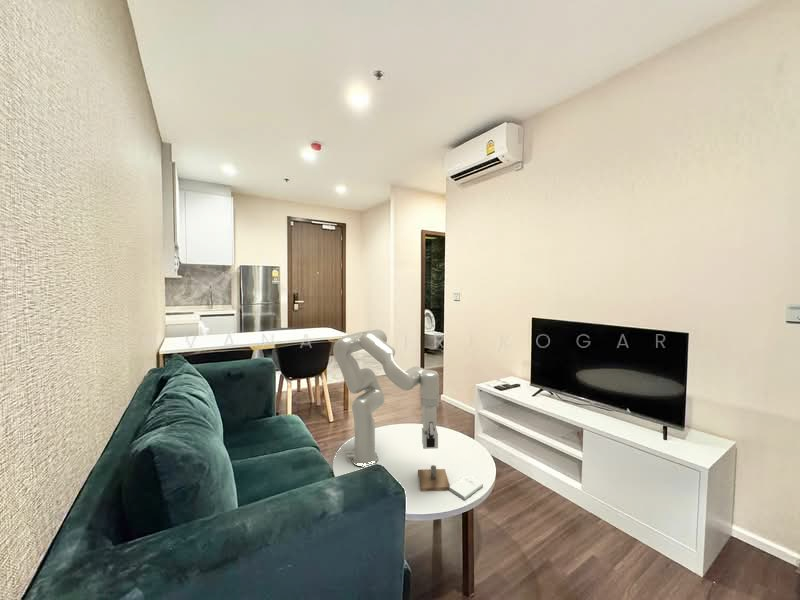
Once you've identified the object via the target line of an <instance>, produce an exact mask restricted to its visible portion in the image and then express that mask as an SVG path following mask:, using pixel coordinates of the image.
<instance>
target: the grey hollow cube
mask: <svg viewBox="0 0 800 600" xmlns="http://www.w3.org/2000/svg"><path fill="white" fill-rule="evenodd" d="M428 430H430V429H428ZM429 434H430V432H429ZM434 437H435V447H427V431H424V429H423V427H421V442H422V443H421V444H422V448H423V449H422V450H424V449H425V450H427V449H439V434H438V430H437V428H436V431H434Z"/></svg>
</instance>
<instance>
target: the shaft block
mask: <svg viewBox="0 0 800 600" xmlns="http://www.w3.org/2000/svg"><path fill="white" fill-rule="evenodd" d="M417 475H418V476H417V477H418V482H419V487H420V488H419V489H420V492H437V491H438V492H439V491H441V492H443V491H449V487H450V486H451V485H450V482H449V478H448V475H447V471H446V469H445V468H437V466H436V465H434V464H433V465H431V466H430V469H417Z"/></svg>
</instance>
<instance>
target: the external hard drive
mask: <svg viewBox="0 0 800 600" xmlns="http://www.w3.org/2000/svg"><path fill="white" fill-rule="evenodd" d="M483 487H484V482H482V481H480V480H478V479H477V478H475V477H473V476H471V475H469V474H466V475H464V476H463V477H461V478H459V479H458V480H457V481H455V482H454V483H452V484H451V485H450V487H449V490H448V491H450V492H451V493H452V494H454V495H456V497H458V498H460V499H461V500H462V501H466V500H467V499H468V498H470V497H471V496H473V494H474V493H476V492H477V491H479V490H480V489H481V488H483Z"/></svg>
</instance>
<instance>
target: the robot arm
mask: <svg viewBox="0 0 800 600" xmlns="http://www.w3.org/2000/svg"><path fill="white" fill-rule="evenodd" d="M386 334H387V333H385V331H383V330H381V329H377V328H376V329H373V330H367V331H359V332H354V333H352V334H348V335H344V336H342V337H340V338H338V339H337V340H336V341H335V343H334V344H333V349H332V352H333V356H334V360H335V361H336V363H337V365H338V366H339V369H340V372H341V374H342V377H343V380H344V381H345V385H346V387H347V389H348V391H349V392H350V394H358V393H361V392H363V391H364V393H362V394H360V395H358V396H356V398H355V399H354V400H353V401H352V404H351V411H352V415H353V423H354V425H353V427H354V428H353V429H354V449H351V450H345V451H344V453H345V456H346V458H347V459H348V458H351V459H350V460H352V461H351V463H352V462H353V463H355V464H357V463H363V464H364V463H366V464H369V463H368V462H371V461H375V462H376V461H377V460H378V461H379V455H378V453H376V428H375V427H376V425H375V424H376V423H375V419H374V417H373V413H374V412H375V411H376V410H378V409H380V408H381V407H382V406H383V405H384V402H385V395H384V392H383V390H382V388H381V385H380V382H379V380H378V378H377V375H376V373H375V372H374V371H373V370H372V369H370V368H367V367H364V368H360V366H359V363H358V361H357V359H356V358H355V356H353V355H352V354H353V353H356V352H359V351H362V350H364V351H365V352H367V353H368V354H369V355H370V356H371V357H373V358H374V359H375V360H376V361H377V362H379V363H380V364H381V366H382V369H383V372H384V373H385V376H386V377H387V379H388V380H389V381H390V382H391V383H393V384H394V385H395V386H396V387H398V388H399V389H401V390H403V391H411V390H413V389H414V388H415V387H417V386H420V406H421V407H422V414H421V415H422V420H421V422H422V423H421V424H422V428H423V429H424V431H427V447H435V437H434V431H436V429H437V407H438V406H439V405H440V375H439V373H438V371H436V370H433V369H425V368H423V367H420V366H412V367H411V368H408V369H407V370H403V368H401V367H400V366H399V365H398V364H397V363H396V361H395V359H394V357H395V355H396V350H395V348H393V347H392V346H391V345H389V344H388V343H387V341H388V336H387V335H386ZM428 429H430V430H428ZM429 432H430V434H429ZM378 461H377V462H378ZM353 463H352V464H353ZM371 463H372V462H371ZM373 464H374V465H375V464H377V463H373ZM369 465H372V464H369ZM369 465H366V466H369ZM362 466H363V465H362ZM372 466H373V465H372ZM363 468H366V467H365V466H364V467H363Z"/></svg>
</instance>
